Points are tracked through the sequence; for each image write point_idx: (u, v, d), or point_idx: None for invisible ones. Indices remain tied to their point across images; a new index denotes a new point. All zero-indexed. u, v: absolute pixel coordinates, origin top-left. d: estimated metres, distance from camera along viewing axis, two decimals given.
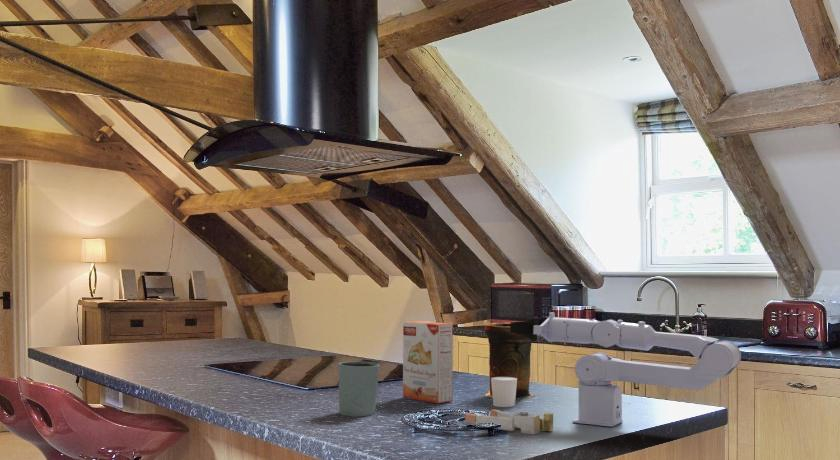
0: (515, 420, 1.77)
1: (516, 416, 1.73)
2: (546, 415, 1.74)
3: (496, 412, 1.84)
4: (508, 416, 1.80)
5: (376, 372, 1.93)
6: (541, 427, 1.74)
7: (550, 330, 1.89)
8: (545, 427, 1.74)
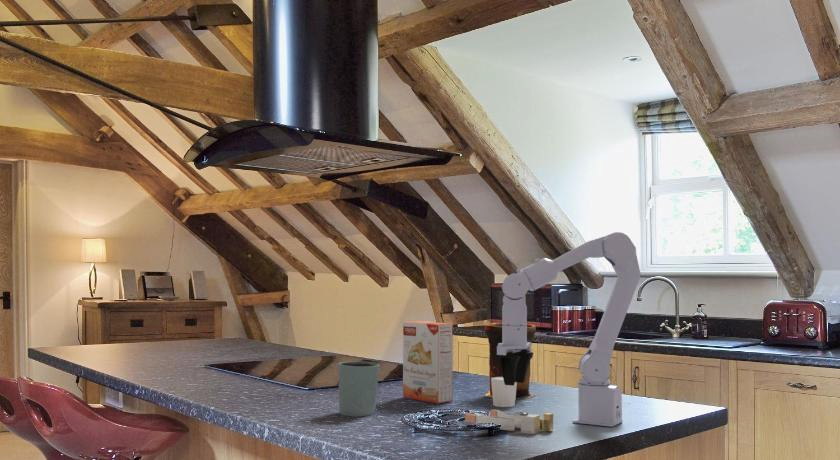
0: (515, 420, 1.77)
1: (516, 416, 1.73)
2: (546, 415, 1.74)
3: (496, 412, 1.84)
4: (508, 416, 1.80)
5: (376, 372, 1.93)
6: (541, 427, 1.74)
7: (509, 342, 1.85)
8: (545, 427, 1.74)
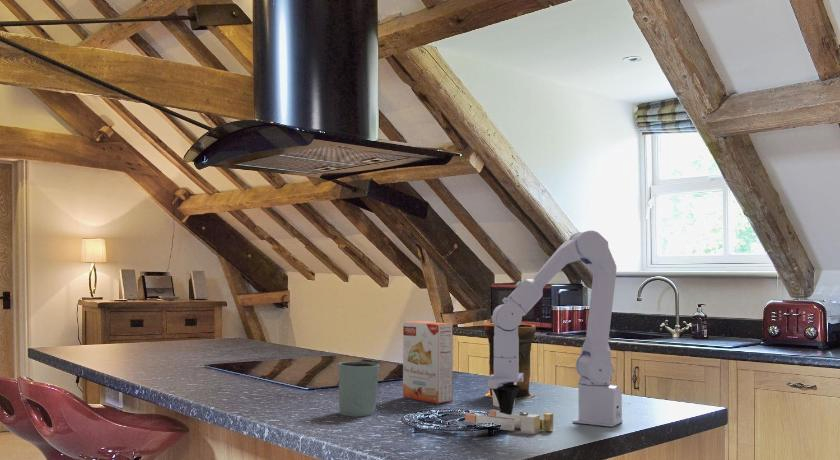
0: (515, 420, 1.77)
1: (516, 416, 1.73)
2: (546, 415, 1.74)
3: (495, 412, 1.84)
4: (507, 416, 1.80)
5: (376, 372, 1.93)
6: (541, 427, 1.74)
7: (501, 375, 1.81)
8: (545, 427, 1.74)
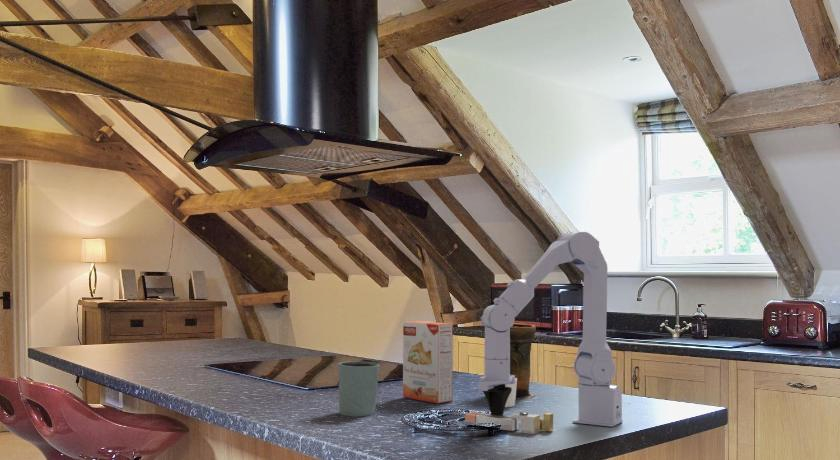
0: None
1: (516, 416, 1.73)
2: (546, 415, 1.74)
3: None
4: None
5: (376, 372, 1.93)
6: (541, 427, 1.74)
7: (492, 377, 1.78)
8: (545, 427, 1.74)
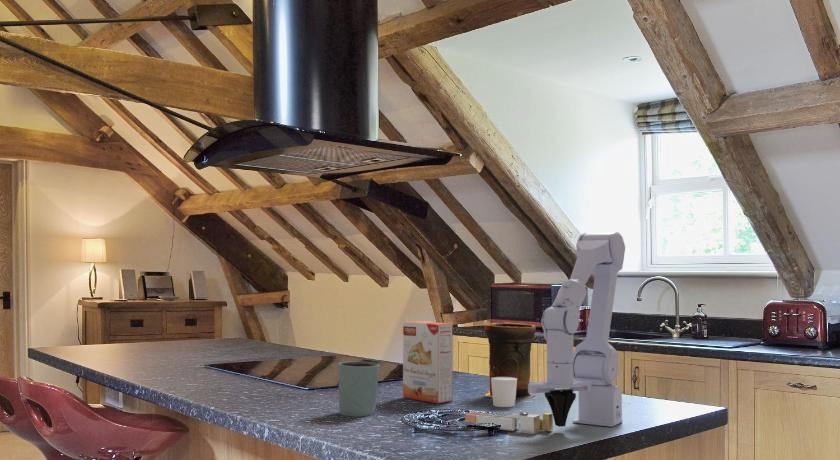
0: None
1: (516, 416, 1.73)
2: (545, 415, 1.74)
3: None
4: None
5: (376, 372, 1.93)
6: (540, 427, 1.74)
7: (548, 380, 1.73)
8: (544, 427, 1.74)
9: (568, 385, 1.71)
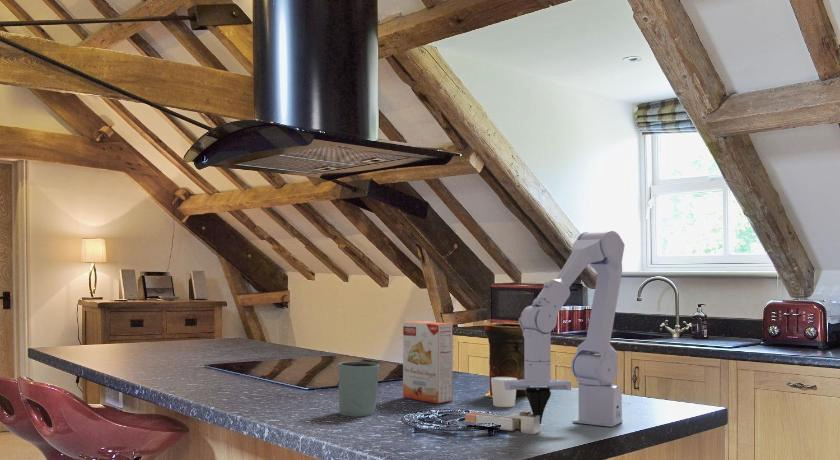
0: None
1: (516, 416, 1.73)
2: None
3: None
4: None
5: (376, 372, 1.93)
6: (519, 424, 1.77)
7: None
8: None
9: (541, 383, 1.73)
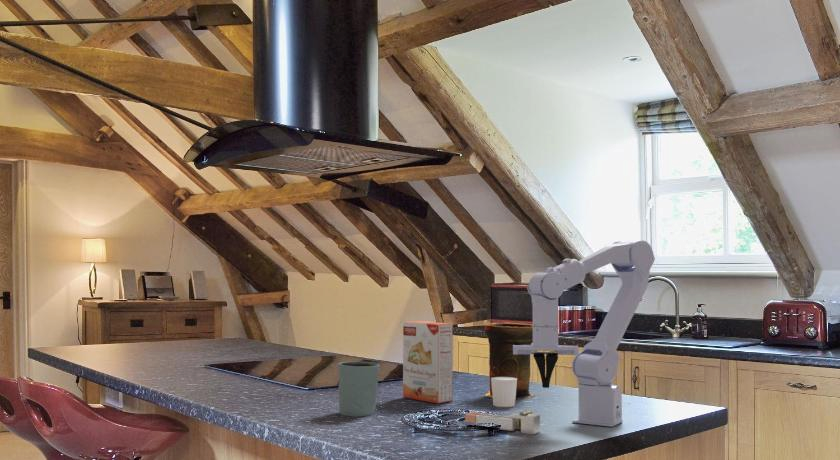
0: None
1: (516, 416, 1.73)
2: None
3: None
4: None
5: (376, 372, 1.93)
6: (520, 425, 1.77)
7: None
8: None
9: (547, 348, 1.77)
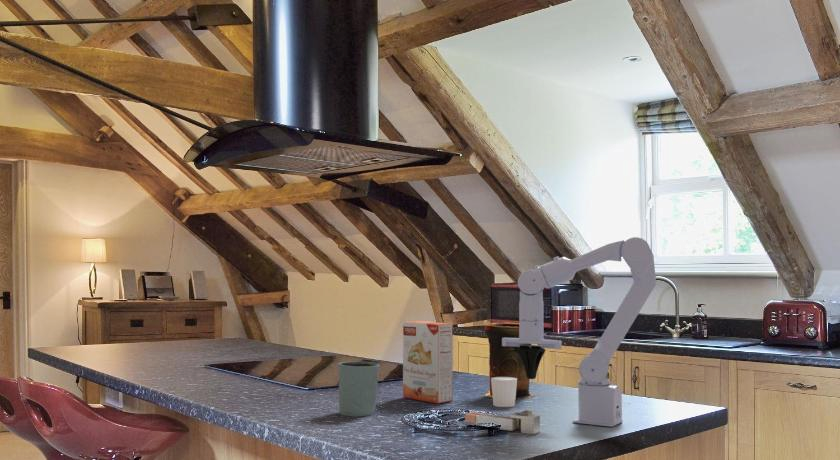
0: None
1: (516, 416, 1.73)
2: None
3: None
4: None
5: (376, 372, 1.93)
6: (520, 425, 1.77)
7: None
8: None
9: (527, 341, 1.87)
